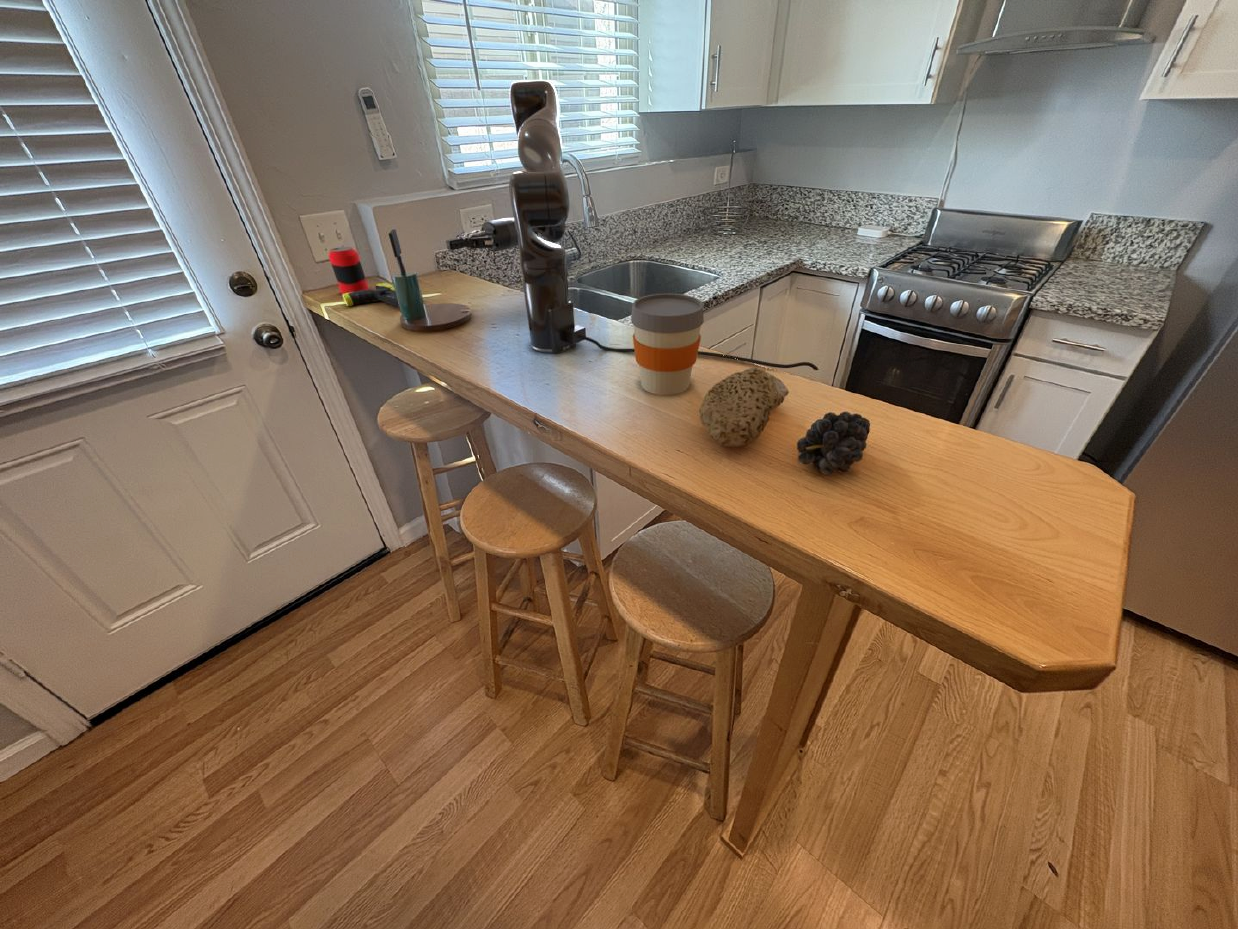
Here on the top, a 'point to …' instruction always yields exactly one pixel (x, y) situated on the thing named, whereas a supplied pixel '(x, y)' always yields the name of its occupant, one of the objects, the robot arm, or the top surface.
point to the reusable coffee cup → (666, 340)
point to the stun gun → (372, 295)
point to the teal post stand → (421, 300)
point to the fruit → (834, 442)
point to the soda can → (348, 269)
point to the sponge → (741, 406)
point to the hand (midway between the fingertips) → (448, 245)
